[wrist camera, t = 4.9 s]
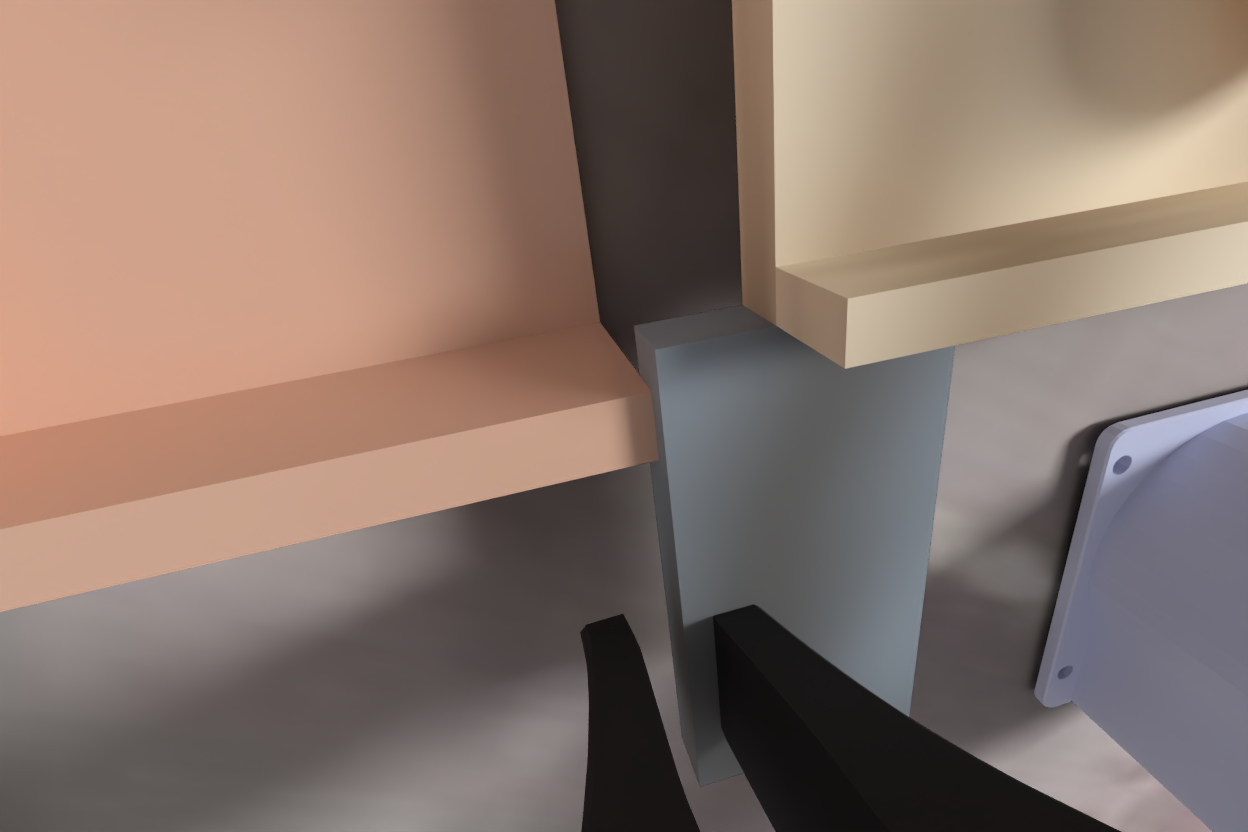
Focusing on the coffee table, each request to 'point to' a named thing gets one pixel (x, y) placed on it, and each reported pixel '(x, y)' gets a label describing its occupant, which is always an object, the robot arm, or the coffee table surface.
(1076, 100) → the lever
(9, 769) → the coffee table surface
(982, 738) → the coffee table surface
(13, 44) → the tray
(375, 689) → the coffee table surface
